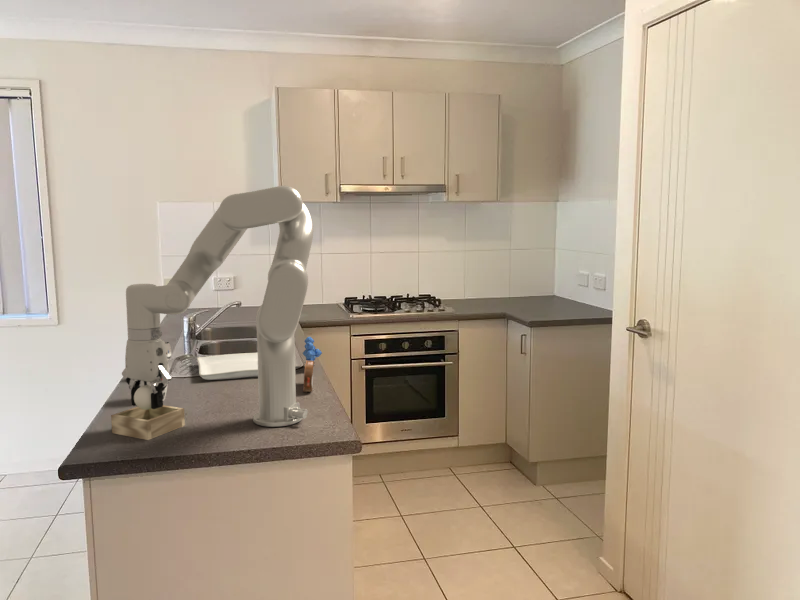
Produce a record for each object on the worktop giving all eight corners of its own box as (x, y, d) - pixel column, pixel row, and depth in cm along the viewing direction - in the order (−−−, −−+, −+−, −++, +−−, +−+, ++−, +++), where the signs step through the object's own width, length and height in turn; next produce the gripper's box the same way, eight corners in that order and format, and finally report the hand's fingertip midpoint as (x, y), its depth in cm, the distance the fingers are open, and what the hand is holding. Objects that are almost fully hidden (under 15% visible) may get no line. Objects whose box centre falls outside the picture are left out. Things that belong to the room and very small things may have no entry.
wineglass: (174, 376, 216) (173, 341, 215) (169, 381, 211) (167, 344, 209) (157, 377, 216) (155, 341, 215) (151, 381, 210) (149, 344, 209)
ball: (165, 407, 163) (164, 384, 162) (146, 413, 158) (146, 389, 157) (147, 404, 166) (146, 381, 165) (128, 410, 160) (127, 386, 160)
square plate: (196, 366, 233) (196, 356, 233) (273, 361, 242) (273, 350, 242) (199, 384, 208) (199, 372, 207) (285, 377, 217) (285, 366, 216)
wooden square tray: (184, 425, 165) (184, 408, 165) (148, 440, 154) (147, 421, 154) (149, 419, 170) (149, 402, 170) (112, 433, 160) (111, 415, 159)
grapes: (322, 373, 221) (322, 338, 220) (302, 374, 220) (301, 339, 219) (322, 365, 233) (321, 332, 231) (303, 366, 232) (302, 333, 230)
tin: (305, 383, 208) (304, 357, 207) (315, 382, 209) (314, 357, 208) (302, 395, 194) (302, 368, 192) (313, 395, 194) (313, 367, 193)
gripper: (182, 334, 159) (184, 406, 161) (130, 329, 166) (133, 398, 169) (158, 339, 152) (161, 414, 155) (106, 334, 160) (110, 405, 162)
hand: (147, 405), depth 162 cm, fingers closed on ball, 5 cm apart
